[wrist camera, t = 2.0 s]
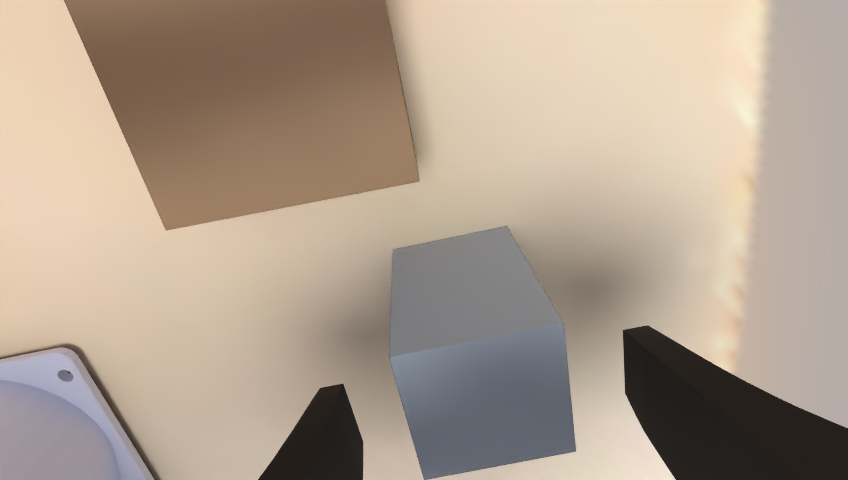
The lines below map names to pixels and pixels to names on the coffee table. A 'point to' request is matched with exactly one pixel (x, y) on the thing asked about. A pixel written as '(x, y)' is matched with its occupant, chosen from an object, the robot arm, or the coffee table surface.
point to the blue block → (477, 355)
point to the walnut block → (251, 100)
